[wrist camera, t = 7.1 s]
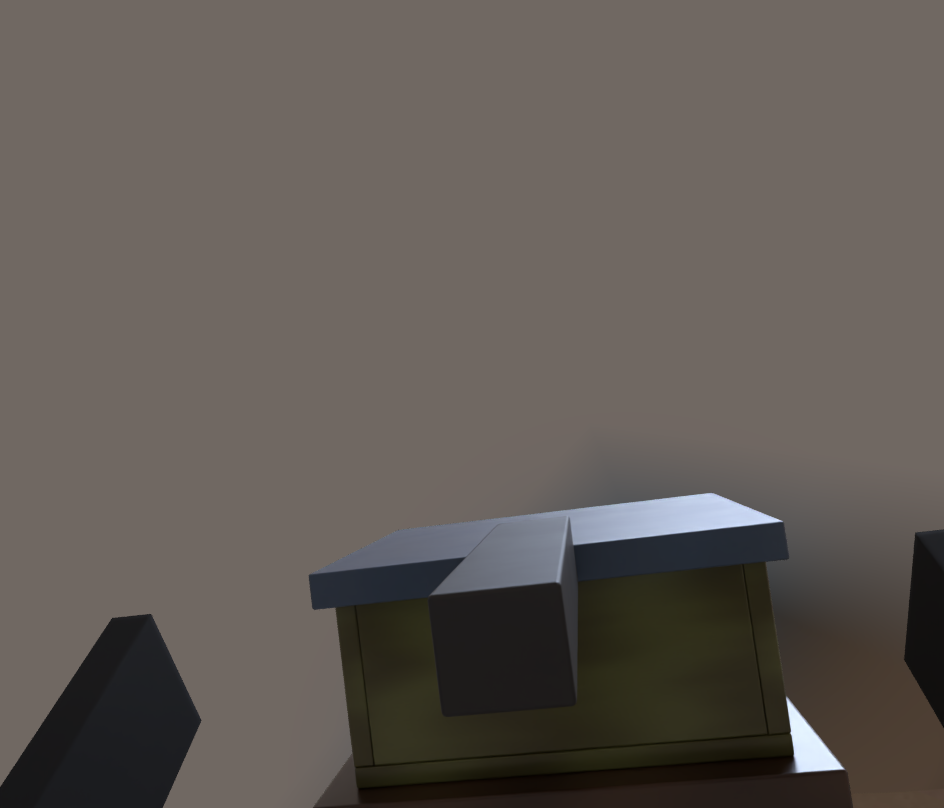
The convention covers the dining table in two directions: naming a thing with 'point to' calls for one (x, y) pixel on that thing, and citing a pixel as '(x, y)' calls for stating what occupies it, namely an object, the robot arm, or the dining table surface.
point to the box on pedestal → (594, 710)
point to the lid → (535, 585)
